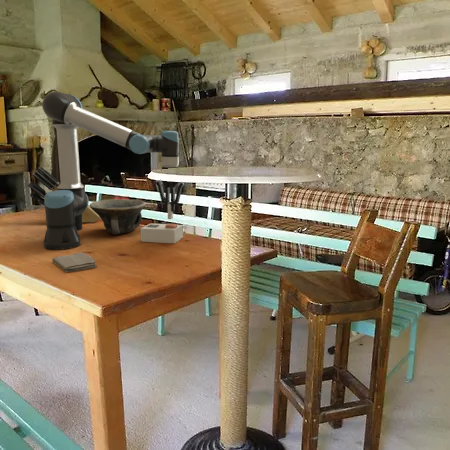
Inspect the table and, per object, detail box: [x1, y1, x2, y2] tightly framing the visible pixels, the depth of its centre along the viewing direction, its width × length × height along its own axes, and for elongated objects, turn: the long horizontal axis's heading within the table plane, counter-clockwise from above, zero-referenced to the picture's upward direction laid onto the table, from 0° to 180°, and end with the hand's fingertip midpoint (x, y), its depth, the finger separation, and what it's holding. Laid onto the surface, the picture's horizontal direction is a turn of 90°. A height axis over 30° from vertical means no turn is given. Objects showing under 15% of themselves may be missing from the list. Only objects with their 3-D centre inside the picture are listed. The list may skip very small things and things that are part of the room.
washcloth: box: [51, 252, 98, 273], centre depth 165 cm, size 12×18×3 cm, turn 37°
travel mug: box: [75, 214, 83, 232], centre depth 226 cm, size 8×8×20 cm
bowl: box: [89, 198, 147, 235], centre depth 220 cm, size 27×26×15 cm
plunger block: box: [140, 223, 184, 244], centre depth 206 cm, size 12×16×6 cm
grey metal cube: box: [146, 223, 159, 228], centre depth 206 cm, size 4×4×4 cm
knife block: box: [27, 166, 100, 224], centre depth 242 cm, size 11×35×31 cm, turn 107°
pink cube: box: [165, 223, 178, 229], centre depth 204 cm, size 4×4×4 cm
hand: (170, 218), depth 203 cm, fingers closed
